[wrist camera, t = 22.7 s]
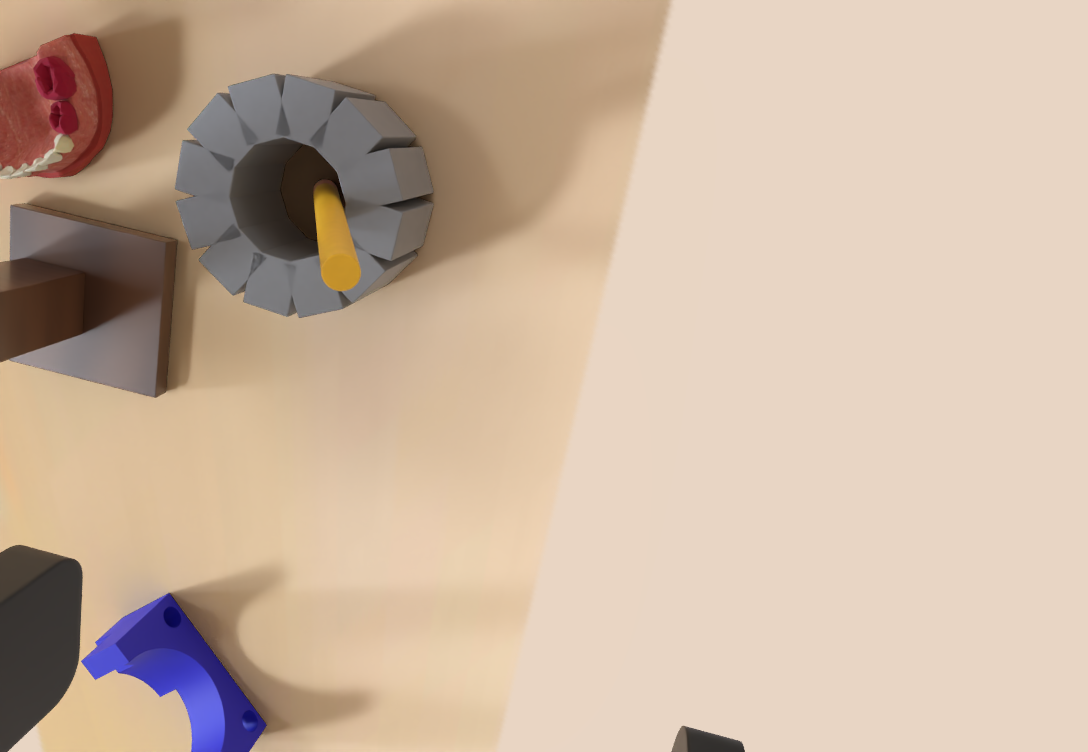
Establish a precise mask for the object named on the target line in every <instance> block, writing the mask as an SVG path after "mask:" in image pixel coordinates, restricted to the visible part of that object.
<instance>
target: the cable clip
mask: <svg viewBox="0 0 1088 752" xmlns="http://www.w3.org/2000/svg"><path fill="white" fill-rule="evenodd" d="M95 643H96V644H97V647H96V648H95V649H94V650H93V651H92V652H91V653H90V654H89V655H88V656H86V657H85V658H84V659H83V660H82V661H81V662H82V663H83V665H84V666H85V667H86V668H87V670H88V671H89V672H90V674H91V675H92V676H93V677H94V679H95V680H96V679H98V678H100V677H102V676H104V675H106V674H108V673H109V672H111V671H113V670H115V669H116V671H117V672H118V673H122V674H127V675H131V676H134V677H136V678H138V679H140V680H142V681H144V682H145V683H147V684H148V685H149V686H150V687H151V688H153V689H154V690H155V691H156V693H157V694H158V695H159V696H160V697H161V696H163V695H165V694H167V693H169V692H171V691H173V690H175V689H176V690H177V691H178V693H179V695H180V696H181V698H182V700H183V702H184V704H185V706H186V709H187V711H188V715H189V718H190V723H191V729H192V750H191V752H249V751H250V750H251V748H252V747H253V745H254V744H255V742H256V741H257V739H258V738H259V736H260V735H261V733H262V732H263V730H264V729H265V727H266V726H267V725H266V723H265V722H264V721H263V719H262V718H261V717H260V715H259V714H258V713H257V711H256V710H255V709H254V707H253V706H252V705H251V703H250V702H249V700H248V699H247V698H246V696H245V695H244V694H243V692H242V691H241V690H240V688H239V687H238V686H237V684H236V683H235V681H234V680H233V679H232V677H231V676H230V675H229V673H228V672H227V671H226V669H225V668H224V667H223V665H222V664H221V662H220V661H219V660H218V658H217V657H216V656H215V654H214V653H213V652H212V650H211V649H210V648H209V646H208V645H207V643H206V642H205V641H204V639H203V638H202V637H201V635H200V634H199V633H198V631H197V630H196V629H195V627H194V626H193V625H192V623H191V622H190V620H189V619H188V618H187V616H186V615H185V614H184V612H183V611H182V610H181V608H180V607H179V606H178V604H177V603H176V601H175V600H174V599H173V597H172V596H171V595H170V593H168V594H166V595H164V596H163V597H161V598H159V599H157V600H155V601H153V602H151V603H149V604H147V605H146V606H144V607H142V608H140V609H138V610H136V611H134V612H132V613H131V614H129V615H127V616H125V617H123V618H122V619H121V620H120V621H118V622H117V623H116V624H115V625H114V626H113V627H112V628H111V629H110V630H108V631H107V632H106V633H105V634H104V635H103V636H102V637H101V638H100V639H98V640H97V641H96V642H95Z"/></svg>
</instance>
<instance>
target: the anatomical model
mask: <svg viewBox="0 0 1088 752" xmlns="http://www.w3.org/2000/svg"><path fill="white" fill-rule="evenodd" d="M112 116H113V102H112V86H111V82H110V77H109V73H108V69H107V64H106V62H105V59H104V57H103V54H102V51H101V49H100V46H99V43H98V41H97V38H96V37H92V36H86V35H81V34H75V33H73V34H71V35H65V36H63V37H60V38H58V39H55V40H53V41H50V42H48V43H46V44H43V45H41V46H40V48H39V49H38V51H37V55H36V56H34V57H32V58H30V59H27V60H25V61H22V62H20V63H18V64H15V65H13V66H10V67H8V68H5V69H3V70H1V71H0V178H2V179H12V178H19V177H26V176H27V177H31V176H40V177H44V178H56V177H67V176H73V175H75V174H77V173H78V172H79V171H81V170H82V169H84V168H85V167H86V166H87V165H88V164H89V163H90V162H91V160H92V159H93V158H94V157H95V156H96V155H97V154H98V153H99V152H100V151H101V150H102V149H103V147H104V145H105V143H106V140H107V138H108V135H109V133H110V130H111V123H112Z"/></svg>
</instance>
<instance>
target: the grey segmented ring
mask: <svg viewBox="0 0 1088 752" xmlns="http://www.w3.org/2000/svg"><path fill="white" fill-rule="evenodd" d="M228 89H229V92H230V94H227V93H217V94H216V96H215V97H214V98H213V99H212V100H211V101H210V103H209V104H208V105H207V106H206V107H205V109H204V110H203V111H202V112H201V113H200V115H199V116H198V117H197V118H196V119H195V120H194V122H193V123H192V124H191V125H190V126H189V128H188V129H187V130H188V131H189V132H190V133H191V134H192V135H193V136H194V137H195V138H196V139H197V140H183V141H182V147H181V153H180V159H179V166H178V172H177V179H176V185H175V189H176V190H179V191H182V192H185V193H188V194H191V195H194V197H190V198H186V199H182V200H178V201H176V204H177V207H178V210H179V213H180V216H181V219H182V222H183V225H184V228H185V231H186V234H187V237H188V240H189V243H190V246H191V249H192V250H193V249H198V248H202V247H206V246H210V247H209V248H208V250H207V251H206V252H205V253H204V254H203V255H202V256H201V257H200V258H199V261H200V262H201V263H202V264H203V265H204V266H205V267H206V269H207V270H208V271H209V272H210V273H211V274H212V275H213V276H214V277H215V278H216V279H217V280H218V281H219V282H220V283H221V284H222V285H223V286H224V287H225V288H226V289H227V290H228V291H229V292H230V293H231V294H232V295H236V294H239V293H241V292H244V291H245V295H244V300H243V302H245V303H248V304H251V305H254V306H257V307H260V308H263V309H266V310H269V311H271V312H274V313H277V314H280V315H283V316H286V317H288V316H290V315H292V314H294V313H297V314H298V317H299V318H302V317H307V316H311V315H316V314H321V313H326V312H330V311H335V310H340V309H343V308H345V307H347V306H349V305H351V304H353V303H355V302H356V301H358V300H360V299H362V298H364V297H365V296H367V295H369V294H371V293H373V292H375V291H376V290H378V289H380V288H382V287H384V286H385V285H387V284H389V283H390V282H391V281H392V280H393V279H394V278H395V277H396V276H397V275H398V274H399V273H400V272H401V271H402V270H403V269H404V268H405V267H406V266H407V265H408V264H409V263H410V262H411V261H412V260H413V259H415V258H416V257H417V254H416V253H415V252H414V250H415V249H417V248H420V247H422V246H423V244H424V240H425V236H426V232H427V228H428V224H429V220H430V216H431V213H432V209H433V203H431V202H428V201H425V200H422V199H419V198H416V197H419V196H423V195H427V194H431V193H433V192H434V191H433V187H432V183H431V179H430V175H429V171H428V168H427V164H426V160H425V156H424V152H423V148H422V147H408V146H409V145H410V144H411V142H412V141H413V140H414V139H415V138H416V135H415V134H414V133H413V132H412V131H411V130H410V129H409V128H408V127H407V125H406V124H405V123H404V122H403V121H402V120H401V119H400V118H399V117H398V116H397V114H396V113H395V112H394V111H393V110H392V109H391V108H390V107H389V106H388V105H387V103H386V102H381V101H374V100H375V95H373V94H370V93H367V92H364V91H361V90H357V89H354V88H351V87H348V86H345V85H342V84H339V83H336V82H333V81H327V80H320V79H314V78H308V77H302V76H296V75H290V74H287V75H286V76H285V75H279V74H271V75H267V76H264V77H260V78H256V79H253V80H249V81H245V82H242V83H238V84H234V85H231V86H228ZM303 144H305V145H308V146H311V147H314V148H315V149H316V150H317V151H318V152H319V153H320V154H321V155H322V156H323V157H324V159H325V160H326V161H327V162H328V163H329V164H330V165H331V166H332V167H333V168H334V169H335V170H336V171H337V174H338V178H339V181H340V185H341V188H342V192H343V196H344V199H345V203H346V205H345V210H344V213H345V216H346V220H347V223H348V227H349V230H350V234H351V237H352V241H353V244H354V248H355V251H356V254H357V258H358V261H359V265H360V269H361V276H360V280H359V282H358V283H357V284H356V285H355V286H354V287H353V288H351V289H349V290H347V291H336V290H333V289H331V288H329V287H328V286H327V285H326V284H325V283H324V281H323V279H322V276H321V268H320V258H319V248H318V242H317V241H314V240H311V239H308V238H307V237H306V236H305V235H304V234H303V233H302V232H301V231H300V230H299V229H298V228H297V227H296V226H295V224H294V223H293V222H292V221H291V220H290V219H289V218H288V215H287V212H286V208H285V205H284V202H283V198H282V195H281V192H280V187H281V182H282V177H283V172H284V167H285V163H286V162H287V161H288V160H289V159H290V158H291V157H292V156H293V155H294V154H295V152H296V151H297V150H298V149H299V148H300V147H301V146H302V145H303ZM407 147H408V148H407Z"/></svg>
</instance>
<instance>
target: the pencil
mask: <svg viewBox="0 0 1088 752" xmlns="http://www.w3.org/2000/svg"><path fill="white" fill-rule="evenodd" d="M313 197H314V207H315V217H316V228H317V238H318V248H319V258H320V268H321V276H322V279H323V281H324V283H325V284H326V285H327V286H328V287H329V288H331V289H333V290H336V291H347V290H349V289H351V288H353V287H354V286H355V285H356V284H357V283H358V282H359V280H360V276H361V269H360V265H359V261H358V258H357V254H356V251H355V248H354V244H353V241H352V237H351V234H350V230H349V227H348V223H347V220H346V216H345V213H344V210H343V206H342V203H341V199H340V196H339V192H338V189H337V186H336V185H335V184H334V183H333V182H332V181H330V180H326V179H323V180H320V181H318V182H317V183H316V184H315V185H314V188H313Z"/></svg>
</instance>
